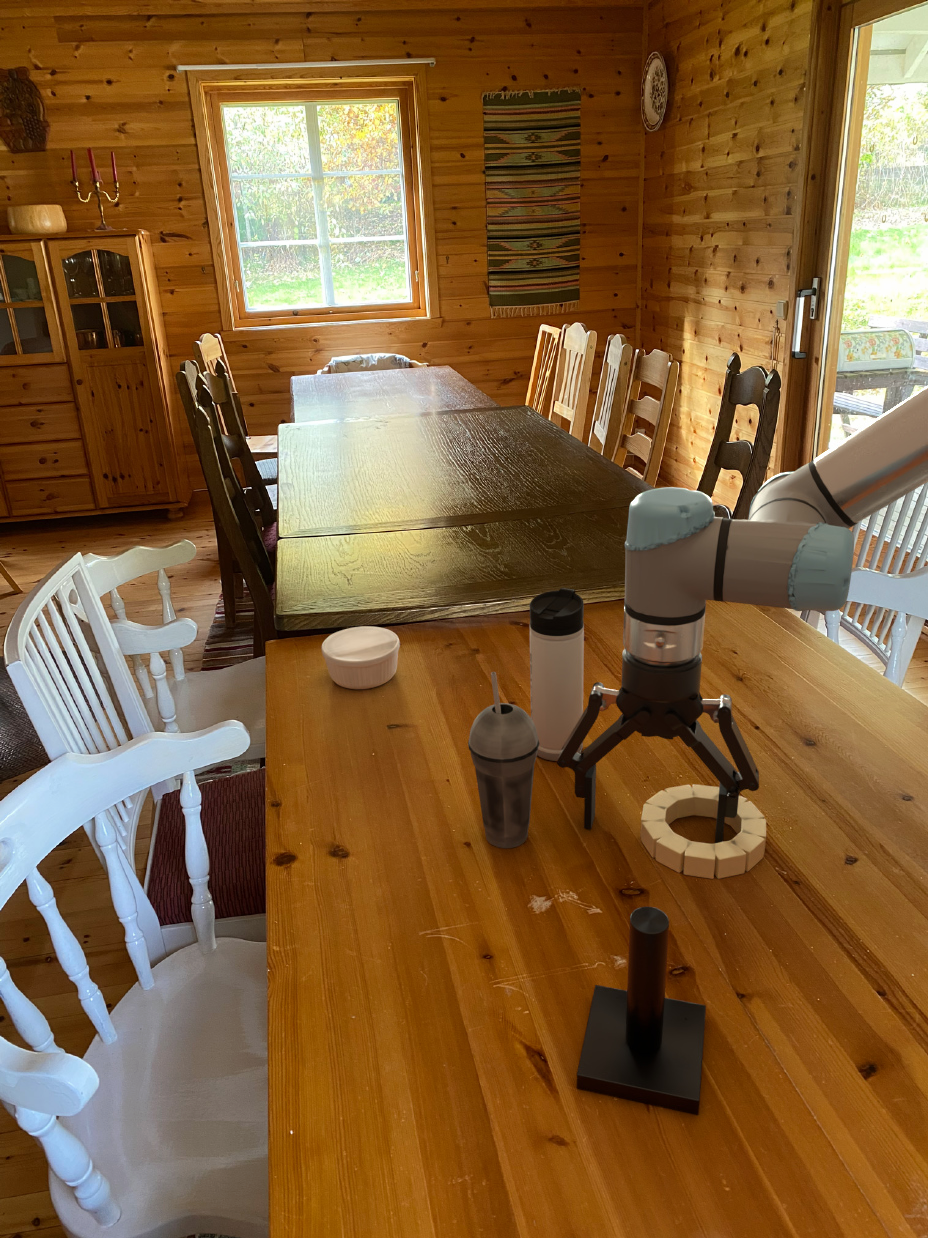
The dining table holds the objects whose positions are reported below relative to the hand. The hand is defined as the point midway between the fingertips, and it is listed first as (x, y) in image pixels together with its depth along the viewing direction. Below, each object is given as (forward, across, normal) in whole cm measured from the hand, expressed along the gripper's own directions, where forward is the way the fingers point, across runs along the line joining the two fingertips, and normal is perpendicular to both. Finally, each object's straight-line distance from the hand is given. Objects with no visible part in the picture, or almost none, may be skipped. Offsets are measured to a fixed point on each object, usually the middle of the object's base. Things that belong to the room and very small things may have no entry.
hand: (652, 830), depth 97 cm
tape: (0, +5, 0) cm, 5 cm away
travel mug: (0, -13, +14) cm, 19 cm away
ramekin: (+1, -44, +27) cm, 52 cm away
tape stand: (0, +2, -28) cm, 28 cm away
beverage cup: (0, -15, -4) cm, 16 cm away
